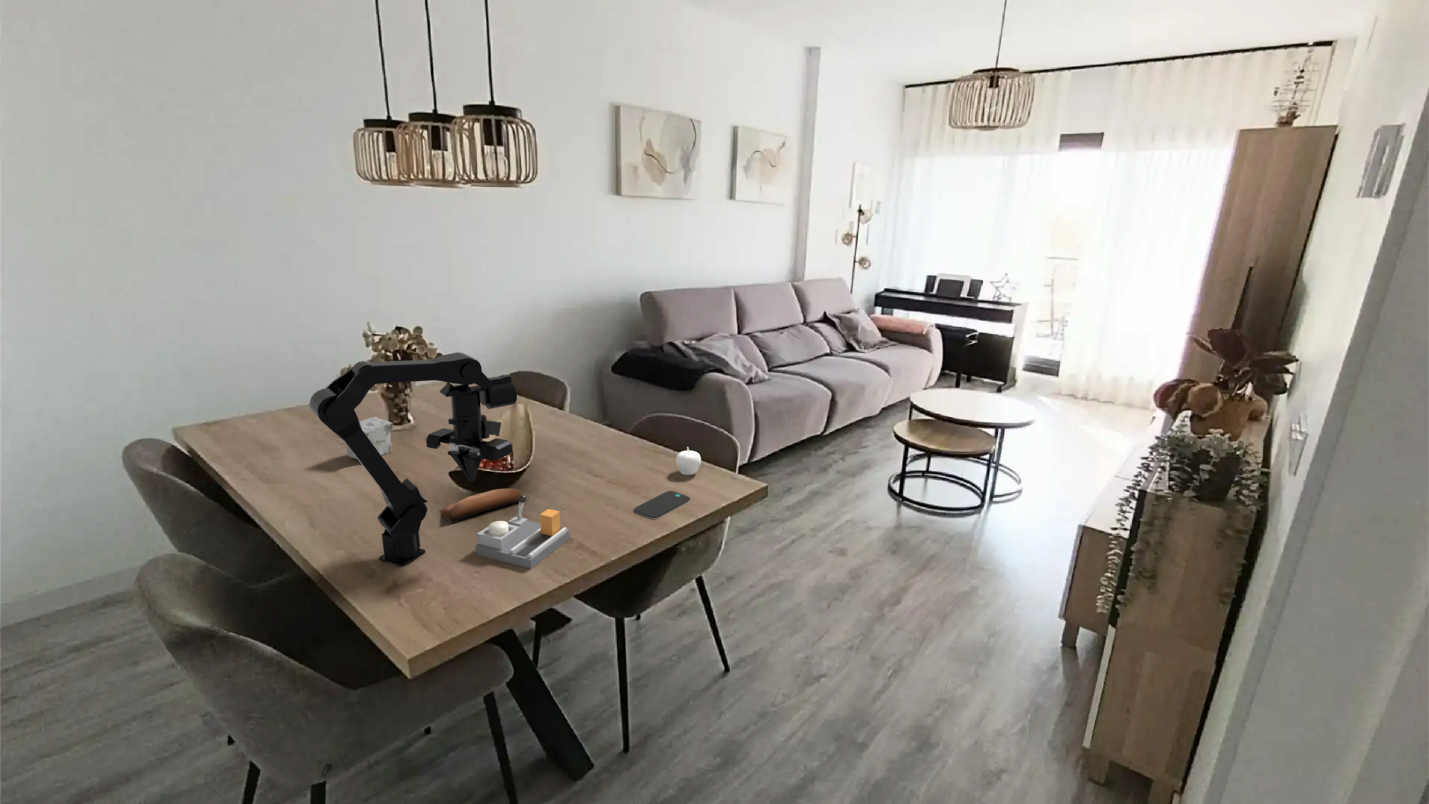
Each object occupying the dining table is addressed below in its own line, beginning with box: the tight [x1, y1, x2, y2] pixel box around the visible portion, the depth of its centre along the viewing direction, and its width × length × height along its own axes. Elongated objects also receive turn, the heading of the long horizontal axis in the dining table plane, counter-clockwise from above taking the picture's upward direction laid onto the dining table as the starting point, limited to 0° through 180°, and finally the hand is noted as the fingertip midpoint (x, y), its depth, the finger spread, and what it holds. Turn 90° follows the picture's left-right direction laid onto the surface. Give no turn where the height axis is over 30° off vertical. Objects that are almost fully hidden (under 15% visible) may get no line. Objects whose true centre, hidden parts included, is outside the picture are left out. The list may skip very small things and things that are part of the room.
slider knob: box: [539, 508, 561, 536], centre depth 144 cm, size 3×3×5 cm
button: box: [488, 520, 509, 537], centre depth 140 cm, size 4×4×3 cm
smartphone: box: [633, 490, 691, 520], centre depth 165 cm, size 8×1×15 cm
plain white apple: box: [675, 446, 702, 476], centre depth 184 cm, size 7×7×8 cm
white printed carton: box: [346, 416, 394, 461], centre depth 186 cm, size 10×8×10 cm
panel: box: [475, 516, 571, 570], centre depth 142 cm, size 14×14×4 cm
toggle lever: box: [516, 494, 527, 519], centre depth 149 cm, size 2×2×5 cm
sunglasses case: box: [438, 488, 522, 524], centre depth 159 cm, size 18×7×7 cm
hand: (471, 480), depth 143 cm, fingers closed
